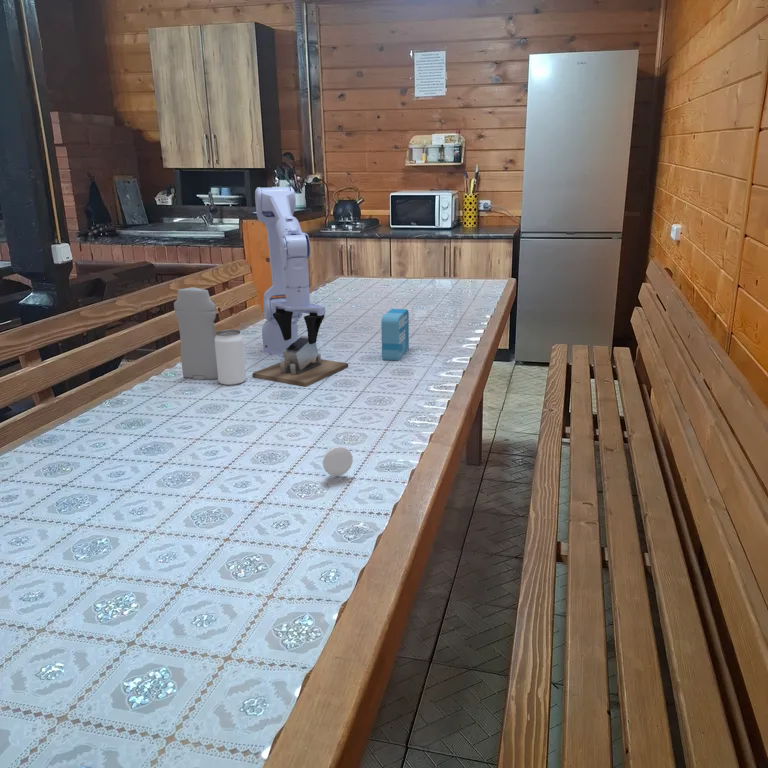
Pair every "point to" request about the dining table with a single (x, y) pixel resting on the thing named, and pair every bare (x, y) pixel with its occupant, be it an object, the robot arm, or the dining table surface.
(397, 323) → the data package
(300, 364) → the block
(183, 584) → the dining table surface
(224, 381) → the can
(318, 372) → the pin tray
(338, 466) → the grey oval shape
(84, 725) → the dining table surface
